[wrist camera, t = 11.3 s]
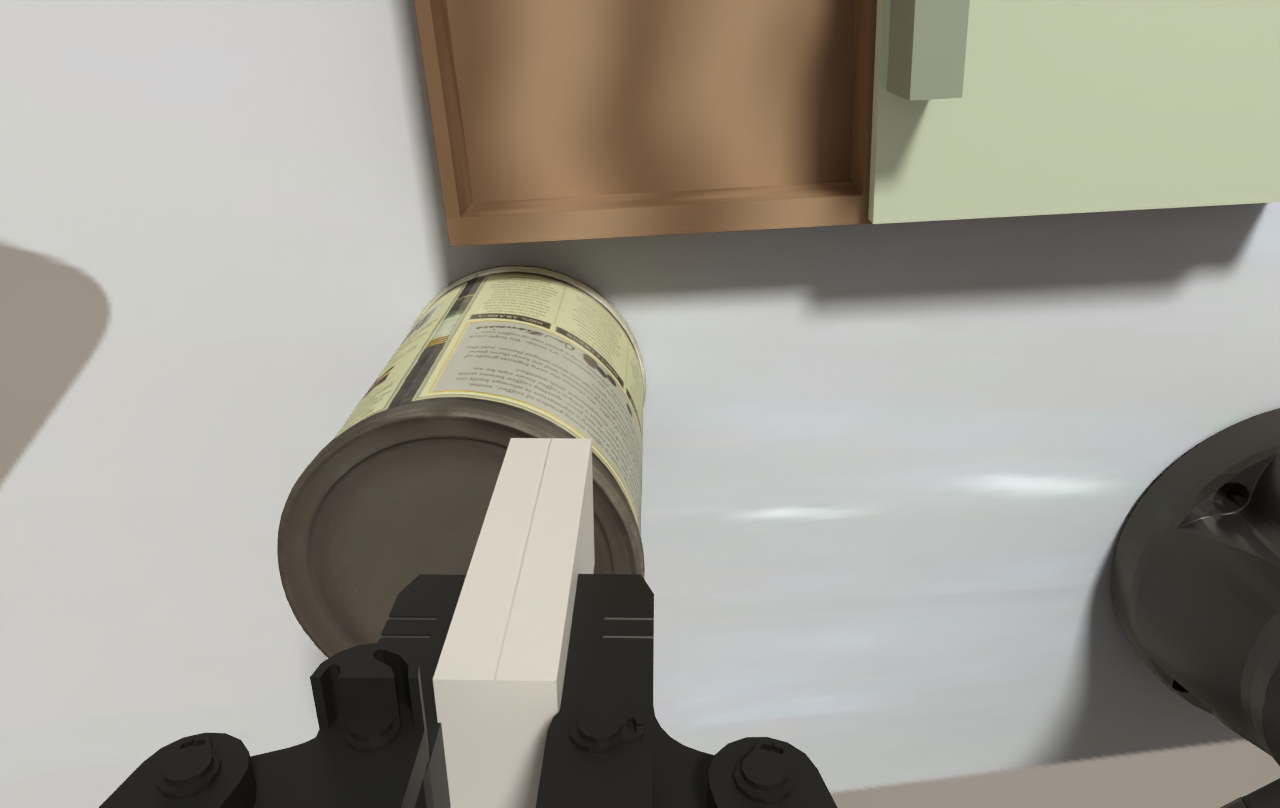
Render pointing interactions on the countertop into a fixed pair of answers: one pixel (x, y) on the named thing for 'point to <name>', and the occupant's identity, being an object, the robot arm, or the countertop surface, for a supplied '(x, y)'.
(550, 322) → the coffee can
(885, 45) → the lid
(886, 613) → the countertop surface
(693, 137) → the wooden tray
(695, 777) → the robot arm
